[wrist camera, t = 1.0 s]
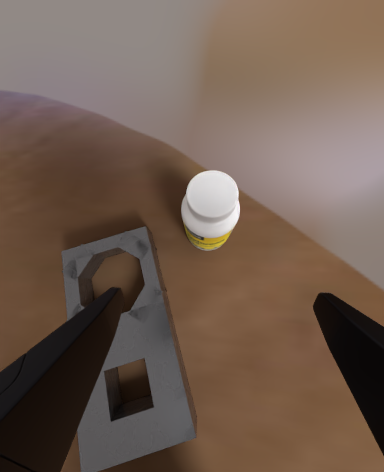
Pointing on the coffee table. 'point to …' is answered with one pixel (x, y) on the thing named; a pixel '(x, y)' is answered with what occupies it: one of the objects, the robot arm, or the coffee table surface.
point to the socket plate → (128, 350)
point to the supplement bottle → (210, 209)
